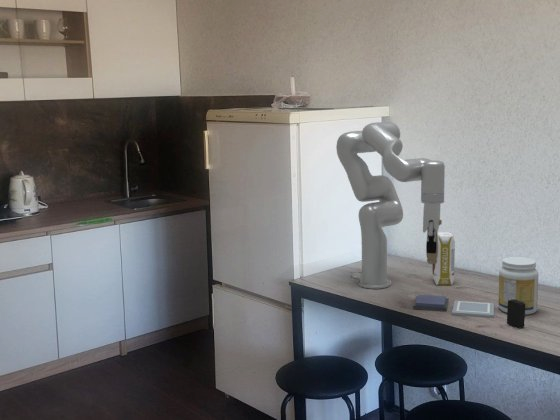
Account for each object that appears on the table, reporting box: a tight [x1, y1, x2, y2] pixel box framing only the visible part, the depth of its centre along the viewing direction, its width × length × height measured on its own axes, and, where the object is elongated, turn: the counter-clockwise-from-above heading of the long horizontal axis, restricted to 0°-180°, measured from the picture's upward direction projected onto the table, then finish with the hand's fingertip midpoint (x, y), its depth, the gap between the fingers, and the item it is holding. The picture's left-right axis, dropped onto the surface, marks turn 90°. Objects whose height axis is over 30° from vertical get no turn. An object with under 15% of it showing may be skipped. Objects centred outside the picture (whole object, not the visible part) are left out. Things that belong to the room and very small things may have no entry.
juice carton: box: [431, 231, 456, 286], centre depth 255 cm, size 8×9×19 cm
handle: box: [425, 219, 443, 265], centre depth 227 cm, size 5×6×15 cm
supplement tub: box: [498, 256, 540, 316], centre depth 221 cm, size 12×12×17 cm
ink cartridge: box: [506, 299, 526, 330], centre depth 207 cm, size 5×2×8 cm, turn 29°
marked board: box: [451, 300, 495, 318], centre depth 224 cm, size 13×13×1 cm
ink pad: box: [412, 294, 450, 312], centre depth 230 cm, size 11×11×2 cm
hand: (431, 250), depth 227 cm, fingers closed on handle, 4 cm apart
